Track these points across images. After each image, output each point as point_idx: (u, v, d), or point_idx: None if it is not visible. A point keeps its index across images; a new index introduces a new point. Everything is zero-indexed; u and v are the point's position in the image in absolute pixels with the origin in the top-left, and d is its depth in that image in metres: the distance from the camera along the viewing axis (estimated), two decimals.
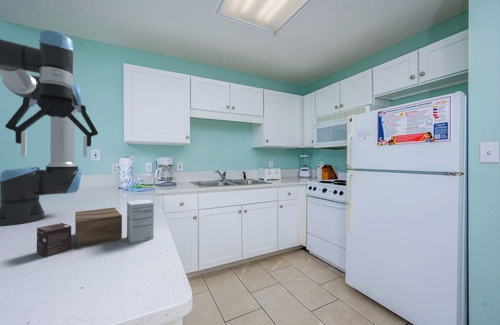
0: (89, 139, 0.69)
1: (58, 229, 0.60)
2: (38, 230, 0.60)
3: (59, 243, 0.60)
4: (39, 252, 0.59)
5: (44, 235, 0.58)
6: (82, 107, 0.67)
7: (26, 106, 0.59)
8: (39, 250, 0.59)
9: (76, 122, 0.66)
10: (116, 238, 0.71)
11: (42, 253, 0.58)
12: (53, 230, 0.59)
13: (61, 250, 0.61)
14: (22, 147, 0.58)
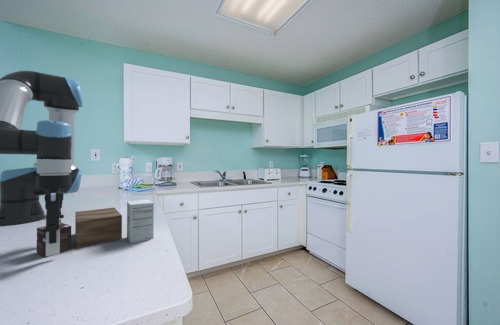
0: (49, 235, 0.55)
1: None
2: (38, 230, 0.60)
3: None
4: (39, 252, 0.59)
5: (44, 235, 0.58)
6: None
7: None
8: (39, 250, 0.59)
9: None
10: (116, 238, 0.71)
11: (42, 253, 0.58)
12: None
13: (61, 250, 0.61)
14: None
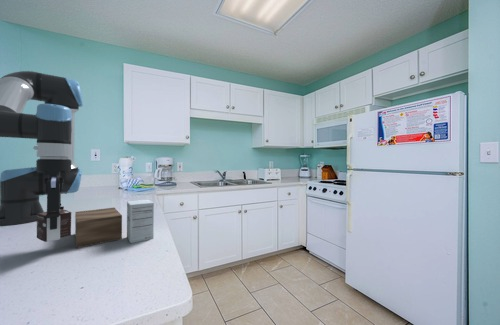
0: (50, 221, 0.57)
1: None
2: (38, 215, 0.60)
3: None
4: (39, 237, 0.60)
5: (44, 220, 0.58)
6: None
7: None
8: (39, 235, 0.60)
9: None
10: (116, 238, 0.71)
11: (42, 237, 0.59)
12: None
13: (61, 235, 0.61)
14: None
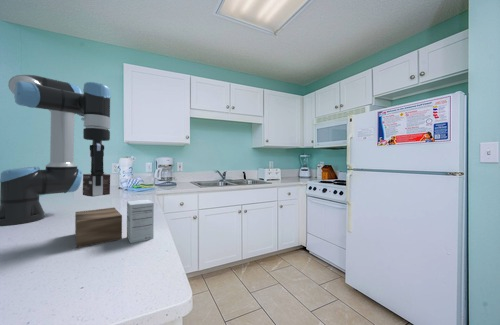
0: (95, 179, 0.69)
1: None
2: (84, 175, 0.72)
3: None
4: (85, 193, 0.71)
5: (90, 178, 0.70)
6: (93, 146, 0.68)
7: None
8: (86, 191, 0.71)
9: (93, 161, 0.70)
10: (116, 238, 0.71)
11: (88, 193, 0.70)
12: None
13: (103, 193, 0.73)
14: None
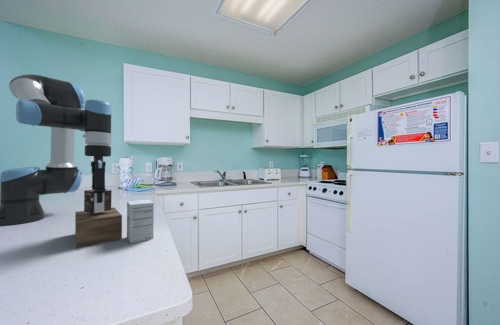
0: (97, 196, 0.70)
1: None
2: (86, 192, 0.72)
3: None
4: (87, 210, 0.72)
5: (92, 195, 0.70)
6: (95, 164, 0.69)
7: None
8: (87, 208, 0.72)
9: (94, 178, 0.71)
10: (116, 238, 0.71)
11: (90, 210, 0.71)
12: None
13: (104, 209, 0.73)
14: None
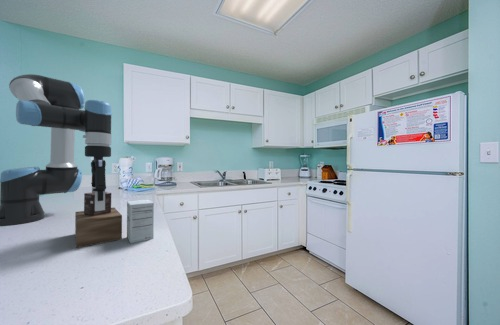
0: (97, 194, 0.68)
1: None
2: (85, 195, 0.72)
3: None
4: (87, 213, 0.72)
5: (91, 198, 0.70)
6: (95, 162, 0.69)
7: None
8: (87, 211, 0.72)
9: (95, 177, 0.70)
10: (116, 238, 0.71)
11: (89, 213, 0.71)
12: None
13: (104, 212, 0.73)
14: None
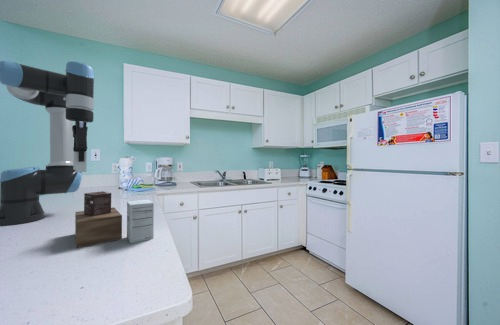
0: (78, 154, 0.67)
1: (102, 194, 0.73)
2: (85, 195, 0.72)
3: (103, 206, 0.73)
4: (86, 213, 0.72)
5: (91, 198, 0.70)
6: (76, 123, 0.68)
7: None
8: (87, 211, 0.72)
9: (76, 139, 0.69)
10: (116, 238, 0.71)
11: (89, 213, 0.71)
12: (98, 194, 0.72)
13: (104, 212, 0.73)
14: None
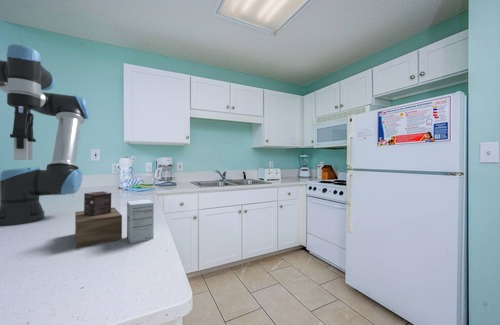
0: None
1: (102, 194, 0.73)
2: (85, 195, 0.72)
3: (103, 206, 0.73)
4: (87, 213, 0.72)
5: (91, 198, 0.70)
6: None
7: None
8: (87, 211, 0.72)
9: None
10: (116, 238, 0.71)
11: (89, 213, 0.71)
12: (98, 194, 0.72)
13: (104, 212, 0.73)
14: None
